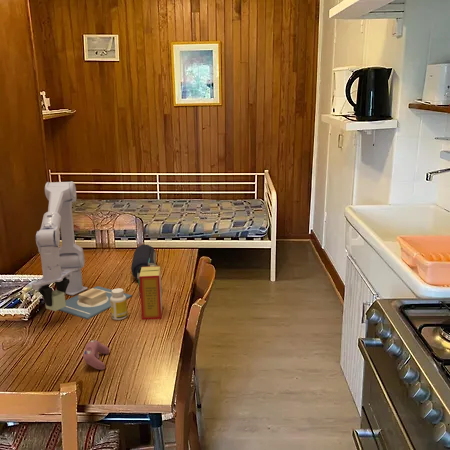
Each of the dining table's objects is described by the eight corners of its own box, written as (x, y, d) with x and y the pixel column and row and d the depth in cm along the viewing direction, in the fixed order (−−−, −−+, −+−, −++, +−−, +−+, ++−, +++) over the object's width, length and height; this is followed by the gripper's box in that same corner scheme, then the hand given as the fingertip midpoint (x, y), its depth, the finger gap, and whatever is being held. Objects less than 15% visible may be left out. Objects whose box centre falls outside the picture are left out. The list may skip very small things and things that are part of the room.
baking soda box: (161, 318, 160) (159, 274, 156) (141, 319, 160) (139, 275, 156) (162, 306, 169) (160, 265, 165) (144, 307, 169) (141, 265, 165)
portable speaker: (155, 283, 192) (154, 259, 189) (131, 284, 190) (129, 261, 188) (157, 262, 216) (155, 241, 213) (134, 263, 215) (133, 242, 212)
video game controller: (98, 357, 140) (85, 339, 138) (111, 350, 139) (98, 332, 137) (91, 376, 130) (78, 357, 128) (106, 369, 130) (92, 349, 128)
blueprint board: (52, 308, 169) (51, 298, 168) (97, 287, 187) (96, 278, 187) (87, 319, 160) (86, 309, 159) (131, 296, 178) (131, 287, 177)
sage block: (46, 308, 157) (44, 292, 156) (56, 303, 161) (55, 288, 160) (55, 311, 155) (53, 295, 154) (65, 306, 159) (64, 290, 157)
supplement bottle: (130, 314, 164) (128, 288, 161) (122, 321, 159) (120, 294, 156) (116, 312, 165) (114, 286, 163) (108, 319, 160) (106, 292, 158)
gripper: (40, 273, 146) (45, 313, 150) (76, 260, 158) (80, 297, 162) (25, 269, 150) (31, 308, 153) (62, 256, 162) (66, 293, 165)
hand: (55, 302), depth 158 cm, fingers closed on sage block, 4 cm apart
